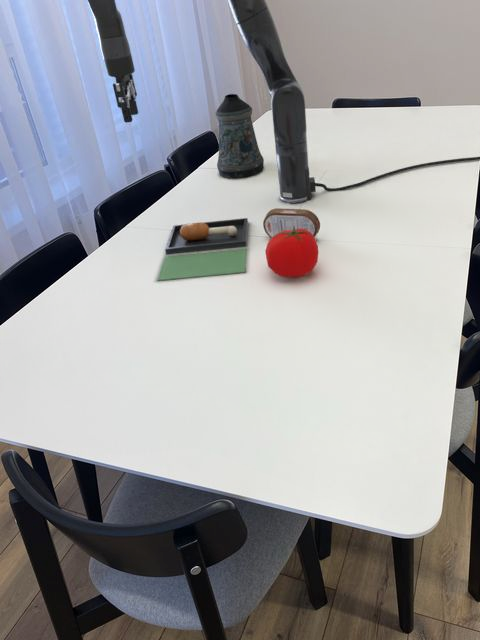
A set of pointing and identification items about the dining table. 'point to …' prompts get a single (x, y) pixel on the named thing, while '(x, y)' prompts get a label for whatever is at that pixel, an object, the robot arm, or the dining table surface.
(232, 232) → the drumstick
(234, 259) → the napkin
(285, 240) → the tomato
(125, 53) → the robot arm
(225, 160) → the beer stein
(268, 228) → the tin
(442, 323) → the dining table surface
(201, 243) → the pan
